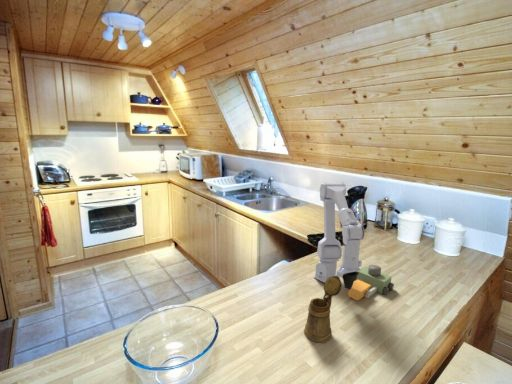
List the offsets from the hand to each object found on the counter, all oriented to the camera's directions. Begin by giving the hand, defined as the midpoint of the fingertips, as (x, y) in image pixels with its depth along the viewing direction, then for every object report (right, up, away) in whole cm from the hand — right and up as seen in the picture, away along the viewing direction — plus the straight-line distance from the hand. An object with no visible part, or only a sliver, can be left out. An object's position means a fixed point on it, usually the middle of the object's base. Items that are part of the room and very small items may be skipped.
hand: (347, 288), depth 112 cm
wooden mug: (-13, -10, -14) cm, 21 cm away
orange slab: (+7, -5, +7) cm, 11 cm away
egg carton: (+11, +6, +66) cm, 67 cm away
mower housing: (+13, -4, +13) cm, 19 cm away
